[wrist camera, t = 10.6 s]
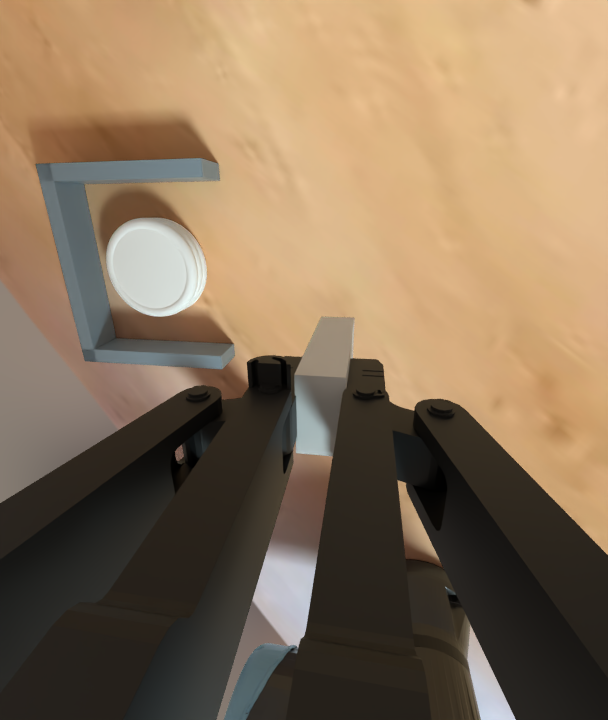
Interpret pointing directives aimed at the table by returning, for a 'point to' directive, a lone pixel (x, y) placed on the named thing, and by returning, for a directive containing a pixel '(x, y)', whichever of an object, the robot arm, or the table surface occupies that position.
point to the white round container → (156, 266)
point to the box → (84, 264)
